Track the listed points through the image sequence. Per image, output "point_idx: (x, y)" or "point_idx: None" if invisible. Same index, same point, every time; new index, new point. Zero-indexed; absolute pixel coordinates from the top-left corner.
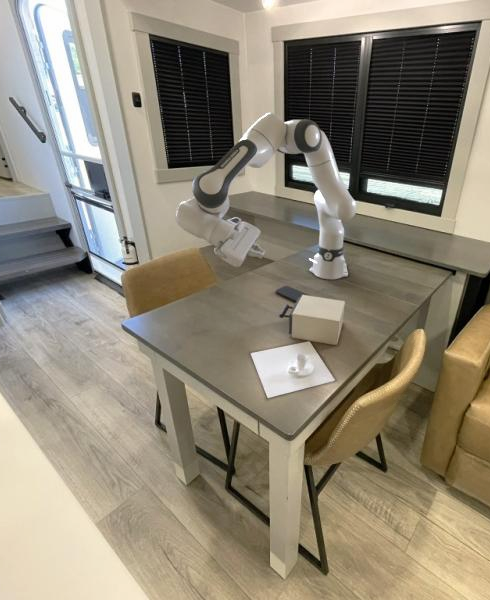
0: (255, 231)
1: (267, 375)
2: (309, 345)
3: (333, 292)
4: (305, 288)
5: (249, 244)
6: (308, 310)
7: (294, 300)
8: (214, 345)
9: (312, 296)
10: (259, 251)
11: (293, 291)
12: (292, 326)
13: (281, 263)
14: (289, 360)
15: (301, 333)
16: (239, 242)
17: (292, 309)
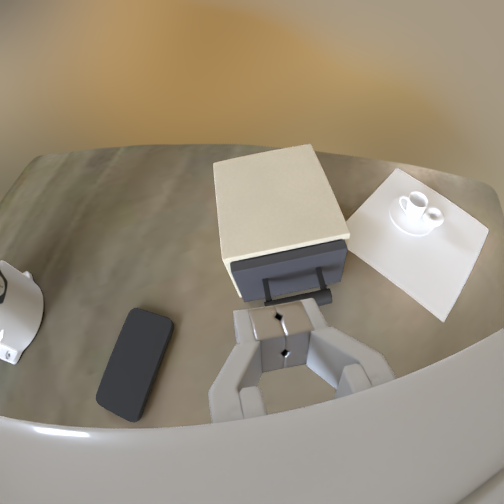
0: (17, 462)
1: (463, 254)
2: None
3: (95, 275)
4: (89, 347)
5: (363, 412)
6: (307, 206)
7: (164, 348)
8: None
9: (220, 230)
10: (301, 328)
11: (120, 368)
12: None
13: None
14: (410, 242)
15: None
16: (463, 490)
17: (316, 253)
